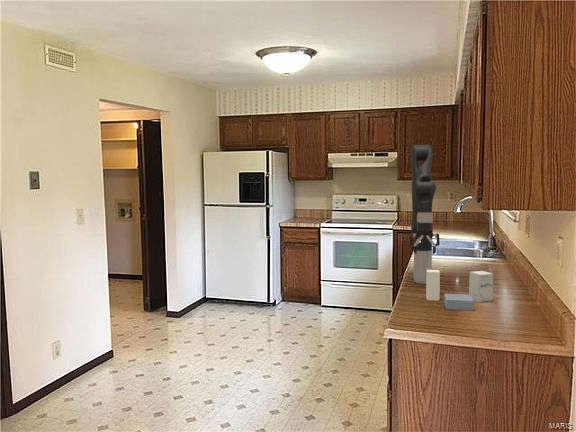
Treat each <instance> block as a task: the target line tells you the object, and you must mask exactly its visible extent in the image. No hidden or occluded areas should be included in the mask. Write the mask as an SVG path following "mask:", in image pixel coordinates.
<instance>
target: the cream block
mask: <svg viewBox="0 0 576 432" xmlns="http://www.w3.org/2000/svg"><path fill="white" fill-rule="evenodd" d="M440 275H441V271H440V270H439V269H432V270H427V272H426V284H425V285H426V286H425V292H426V293H425V298H426V301H440V290H441V289H440V285H441V282H440V281H441V280H440V279H441V276H440Z"/></svg>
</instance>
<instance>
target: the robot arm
mask: <svg viewBox="0 0 576 432" xmlns="http://www.w3.org/2000/svg"><path fill="white" fill-rule="evenodd" d="M433 151H434V150H433V147H432V145H430V144H414V145H412V147H411V153H410V155H411V171H412V173H411V174H412V177H411V208H412V209H411V222H410V223H411V224H410V231H411V233H410V235H409V236H410V237H409V238H410V239H409V245H410V246H412V247H413V282H414V283H415V282H416V284H419V285H420V284H422V285H426V272H427V270H433V269H432V268H433V255H435V254H436V251H437V247H438V246H441V245H440V244H441V243H440V242H441V241H440V233H439V232H438V233H434V232H433V231H434V225H433V224H434V221H433V219H434V218H433V200H434V198H435V193H436V190H437V185H436V183H435V182H434V181H432V166H433V164H432V163H433V155H434V153H433ZM421 162H423V163H422V164H421V165H420V166H419V163H421ZM414 238H417V239H416V240H415V242H413V239H414ZM433 238H435V239H436V243H435V242H434V241H433Z"/></svg>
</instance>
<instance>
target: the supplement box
mask: <svg viewBox="0 0 576 432" xmlns="http://www.w3.org/2000/svg"><path fill="white" fill-rule="evenodd" d="M468 279H469V283H468V287H469V288H468V295H471V297H472V299H473V300H474V302H477V303H481V302H483V303H484V302H493V289H494V287H493V286H494V285H493V284H494V273H491V272H489V271H485V270H478V271H477V270H476V271H469V278H468Z"/></svg>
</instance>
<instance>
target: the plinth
mask: <svg viewBox="0 0 576 432" xmlns="http://www.w3.org/2000/svg"><path fill="white" fill-rule="evenodd" d="M443 303H444V306H445V309H446V310H457V311H458V310H459V311H475V301H474V300H473V299H472V297H471V295H469V294H464V293H463V294H461V293H444V294H443Z"/></svg>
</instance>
